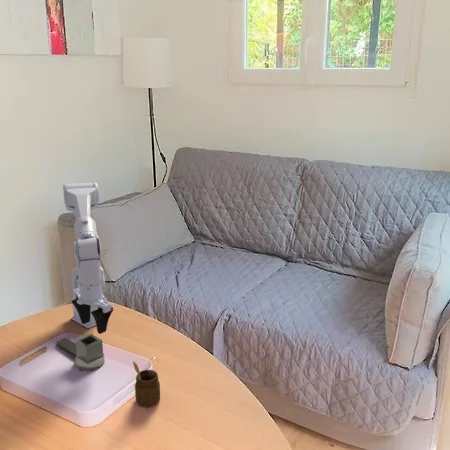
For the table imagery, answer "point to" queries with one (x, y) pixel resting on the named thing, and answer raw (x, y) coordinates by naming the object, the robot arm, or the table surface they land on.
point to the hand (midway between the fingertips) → (93, 327)
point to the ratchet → (71, 350)
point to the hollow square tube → (89, 348)
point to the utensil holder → (147, 387)
